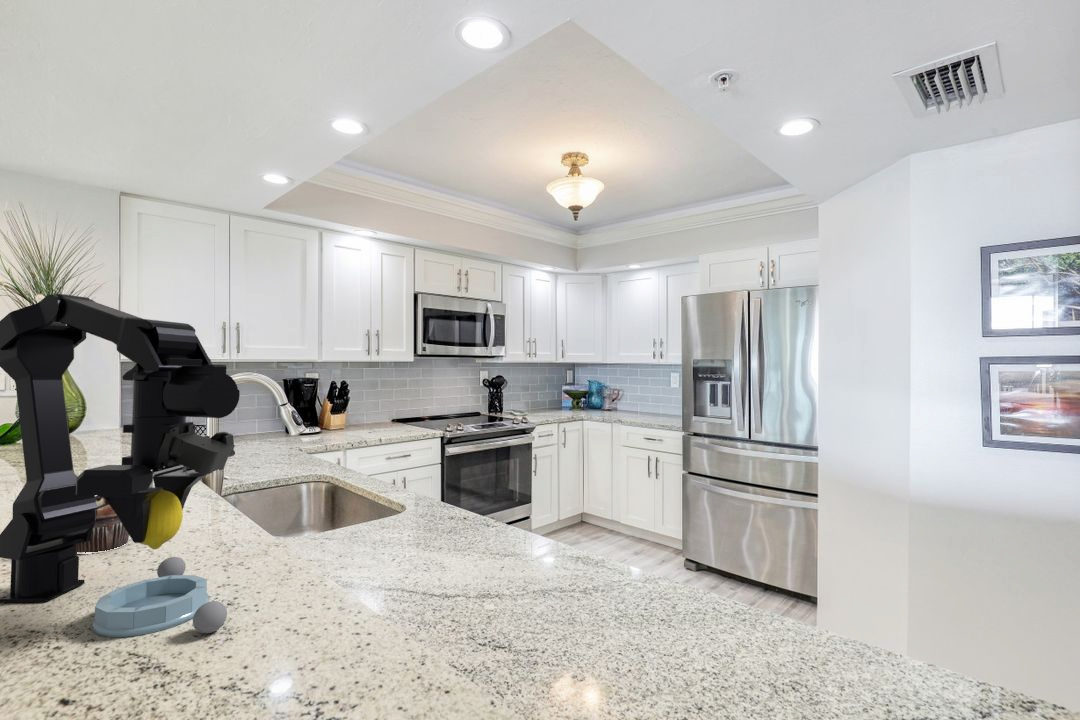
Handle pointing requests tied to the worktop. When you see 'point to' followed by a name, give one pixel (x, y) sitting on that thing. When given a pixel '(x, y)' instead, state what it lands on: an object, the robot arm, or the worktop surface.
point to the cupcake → (105, 530)
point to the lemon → (163, 519)
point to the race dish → (149, 605)
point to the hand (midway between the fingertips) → (155, 535)
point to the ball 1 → (171, 567)
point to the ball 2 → (209, 617)
